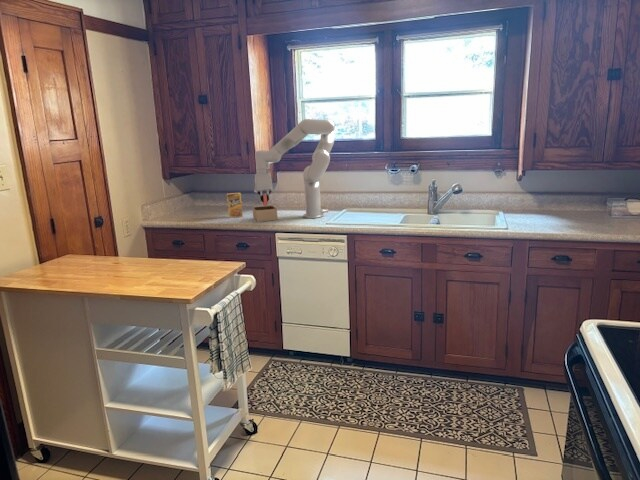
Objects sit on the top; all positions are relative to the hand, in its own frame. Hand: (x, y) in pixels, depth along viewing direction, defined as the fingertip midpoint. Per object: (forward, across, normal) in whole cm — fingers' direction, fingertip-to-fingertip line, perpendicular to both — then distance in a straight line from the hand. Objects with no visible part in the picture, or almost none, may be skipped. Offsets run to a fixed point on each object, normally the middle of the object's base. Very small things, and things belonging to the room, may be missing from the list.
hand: (264, 201), depth 296 cm
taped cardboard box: (+3, 0, -3) cm, 5 cm away
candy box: (+12, +16, -20) cm, 28 cm away
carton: (+12, 0, -3) cm, 12 cm away
